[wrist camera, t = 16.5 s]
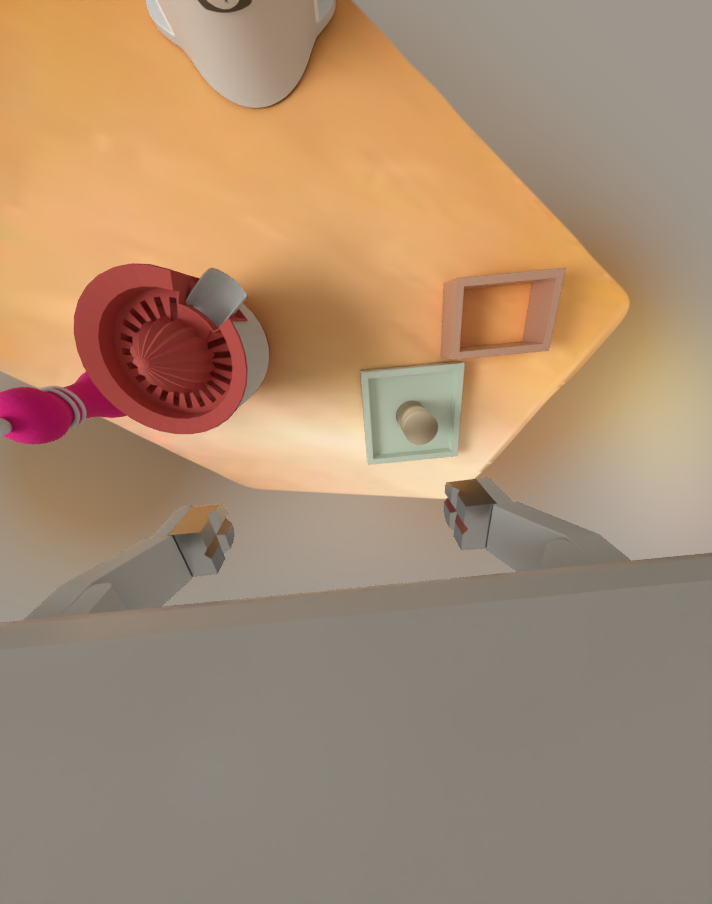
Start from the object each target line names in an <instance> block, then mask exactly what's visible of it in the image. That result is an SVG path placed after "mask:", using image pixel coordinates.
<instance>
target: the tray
mask: <svg viewBox="0 0 712 904" xmlns="http://www.w3.org/2000/svg"><path fill="white" fill-rule="evenodd" d="M464 367H465V363H464V362H461V361H452V362H442V363H431V364H421V365H411V366H400V367H390V368H379V369H369V370H360V376H361V389H362V402H363V414H364V427H365V440H366V453H367V462H368V465H370V464H380V463H391V462H401V461H411V460H421V459H432V458H442V457H452V456H457V453H458V441H459V428H460V416H461V404H462V391H463V379H464ZM407 401H417V402H419V403H420V404H421V405H422V406H423V407H424V408H425V409H426V410H427V411H428V412H429V413H430V414H431V415H432V416H433V417H434V418H435V419H436V421H437V423H438V431H437V434H436V436H435V437H434V439H433V440H431V441H430V442H428V443H426V444H423V445H415V444H413V443H411V442H409V441H408V440H407V438H406V436H405V435H404V433H403V431H402V429H401V428H400V426H399V424H398V422H397V420H396V412H397V409H398V408H399V406H400V405H401V404H403V403H404V402H407Z"/></svg>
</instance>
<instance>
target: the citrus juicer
mask: <svg viewBox="0 0 712 904" xmlns="http://www.w3.org/2000/svg"><path fill="white" fill-rule="evenodd" d="M246 298H247V294H246V292H245V291H244V289H243V288H242V287H241V286H240V285H239V284H238V283H237V282H236V281H235V280H234V279H232V278H231V277H230V276H228V275H227V274H225V273H224V272H222V271H220V270H218V269H214V268H210V269H208V270H207V271H206V272H205V273H204V274H203V275H202V277H201V278H200V279H199V278H196V277H192V276H189V275H186V274H183V273H180V272H176V271H173V270H170V269H167V268H163V267H159V266H155V265H151V264H127V265H122V266H117V267H113V268H111V269H109V270H107V271H105V272H103V273H101V274H99V275H98V276H97V277H96V278H95V279H93V280H92V281H91V282H90V283H89V284H88V285H87V286H86V288H85V289H84V291H83V293H82V295H81V296H80V298H79V300H78V303H77V307H76V311H75V315H74V336H75V341H76V346H77V351H78V353H79V356H80V358H81V361H82V364H83V366H84V368H85V370H86V371H87V373H88V375H89V377H90V378H91V380H92V382H93V383H94V384H95V386H96V387H97V388H98V389H99V391H100V392H101V393H102V394H103V396H104V397H105V398H107V399H108V400H109V401H110V402H111V403H112V404H113V405H114V406H115V407H116V408H117V409H119V410H120V411H121V412H123V413H124V414H126V415H127V416H128V417H130V418H131V419H133V420H135V421H137V422H139V423H141V424H143V425H145V426H147V427H150V428H153V429H156V430H159V431H163V432H168V433H174V434H194V433H200V432H205V431H208V430H210V429H213V428H215V427H218V426H219V425H220V424H222V423H223V422H225V421H226V420H228V419H229V418H230V417H231V415H232V414H233V413H234V412H235V411H236V410H237V408H238V407H239V406H240V405H242V404H243V403H244V402H245V401H247V400H248V399H249V398H250V397H251V396H252V395H253V394H254V393H255V391H256V390H257V389H258V388H259V387H260V385H261V383H262V382H263V380H264V378H265V375H266V372H267V369H268V365H269V354H270V353H269V344H268V340H267V337H266V334H265V332H264V330H263V328H262V326H261V324H260V323H259V321H258V320H257V318H256V317H255V316H254V314H253V313H252V312H251V311H250V310H249V309H248V308H247V307H246V306H245V305H244V304H243V302H244V301H245V300H246Z"/></svg>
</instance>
